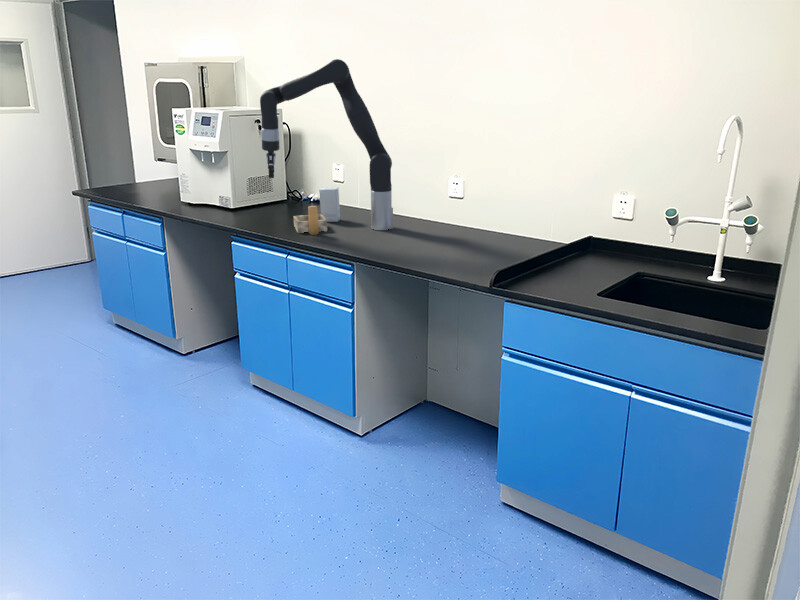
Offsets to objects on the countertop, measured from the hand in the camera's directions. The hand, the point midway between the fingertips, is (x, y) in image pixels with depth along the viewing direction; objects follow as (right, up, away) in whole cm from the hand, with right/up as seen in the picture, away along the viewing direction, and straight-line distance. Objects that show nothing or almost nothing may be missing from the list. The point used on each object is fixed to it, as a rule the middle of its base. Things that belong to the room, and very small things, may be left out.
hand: (271, 175), depth 280 cm
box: (+17, -24, +3) cm, 29 cm away
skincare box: (+24, -18, +20) cm, 36 cm away
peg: (+20, -27, -6) cm, 34 cm away
